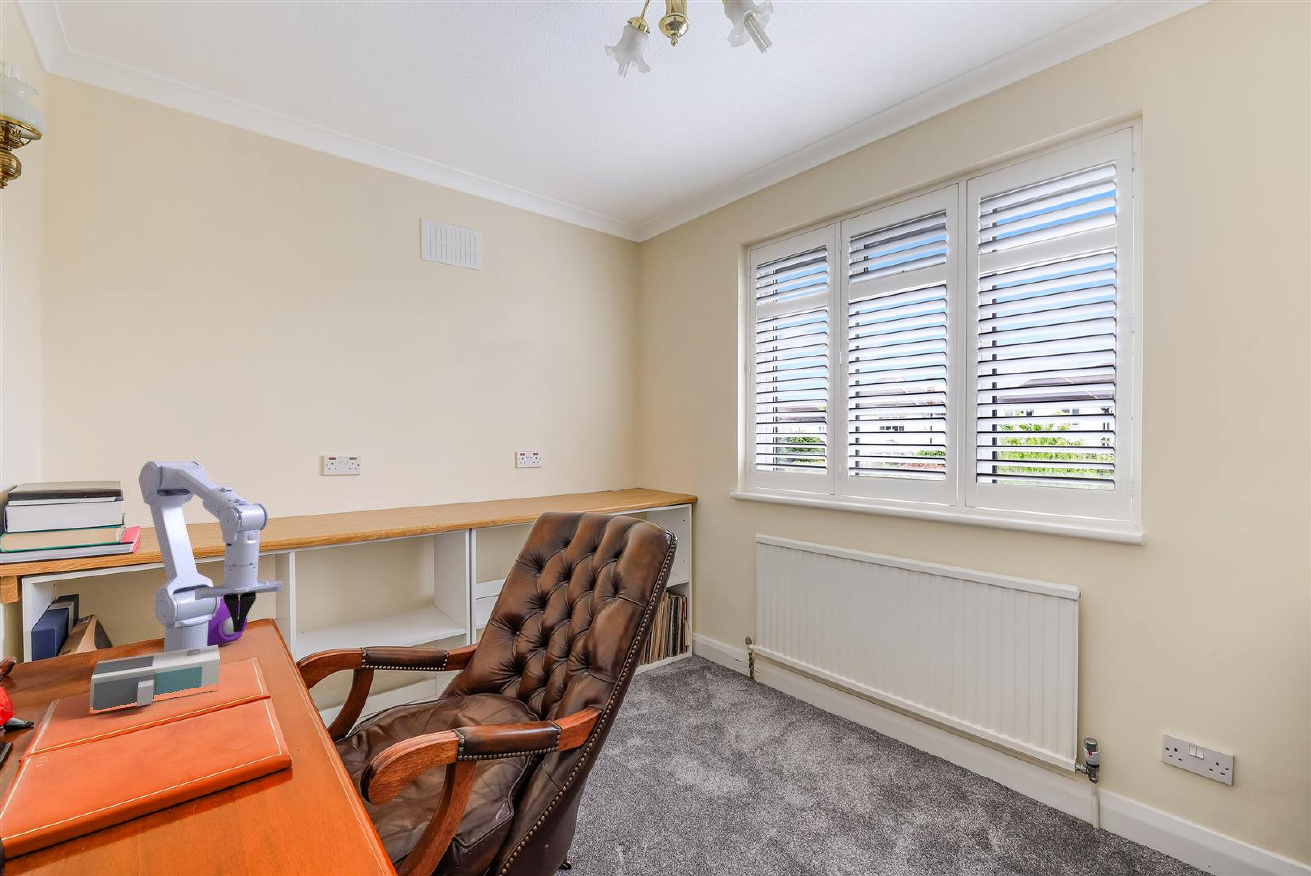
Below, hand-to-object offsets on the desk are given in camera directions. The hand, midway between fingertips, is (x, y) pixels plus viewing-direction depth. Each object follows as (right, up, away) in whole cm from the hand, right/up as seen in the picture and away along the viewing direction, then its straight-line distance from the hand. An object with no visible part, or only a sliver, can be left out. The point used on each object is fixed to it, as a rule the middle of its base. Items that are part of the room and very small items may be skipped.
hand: (237, 630), depth 120 cm
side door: (-8, -8, -17) cm, 21 cm away
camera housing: (-9, -9, -9) cm, 15 cm away
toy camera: (-19, -10, +20) cm, 30 cm away
